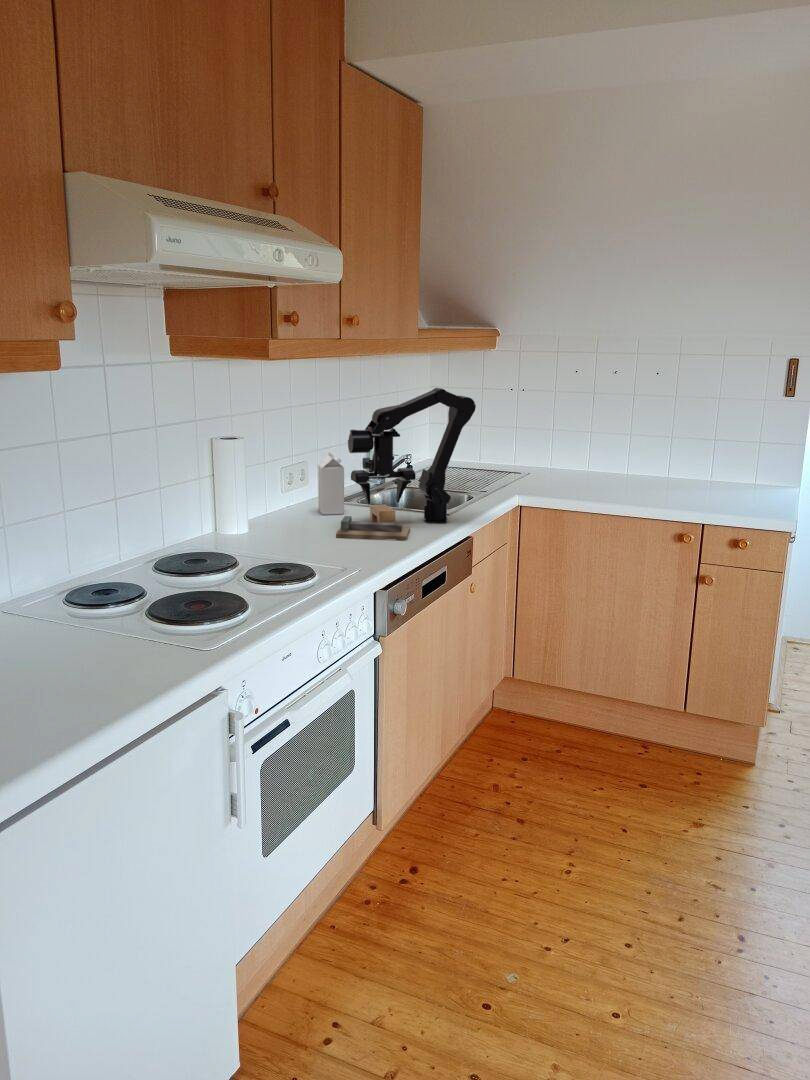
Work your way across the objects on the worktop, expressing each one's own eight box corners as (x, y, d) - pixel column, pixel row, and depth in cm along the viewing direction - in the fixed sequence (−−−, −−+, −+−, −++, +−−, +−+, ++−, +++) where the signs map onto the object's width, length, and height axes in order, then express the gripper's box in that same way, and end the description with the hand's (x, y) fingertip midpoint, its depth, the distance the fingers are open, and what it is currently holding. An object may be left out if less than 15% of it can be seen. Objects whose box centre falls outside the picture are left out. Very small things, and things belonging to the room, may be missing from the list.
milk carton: (322, 515, 264) (321, 455, 259) (318, 510, 271) (317, 452, 266) (344, 514, 266) (344, 454, 261) (340, 509, 272) (339, 451, 268)
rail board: (410, 530, 247) (410, 516, 246) (406, 540, 235) (406, 526, 234) (342, 527, 248) (342, 514, 247) (336, 537, 237) (335, 523, 236)
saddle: (385, 520, 259) (385, 504, 258) (395, 526, 251) (395, 510, 250) (370, 521, 257) (370, 505, 256) (379, 527, 249) (379, 511, 248)
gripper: (403, 447, 259) (403, 496, 263) (345, 449, 253) (345, 499, 257) (416, 452, 249) (415, 503, 253) (356, 454, 243) (356, 507, 247)
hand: (383, 503), depth 253 cm, fingers open, 9 cm apart
